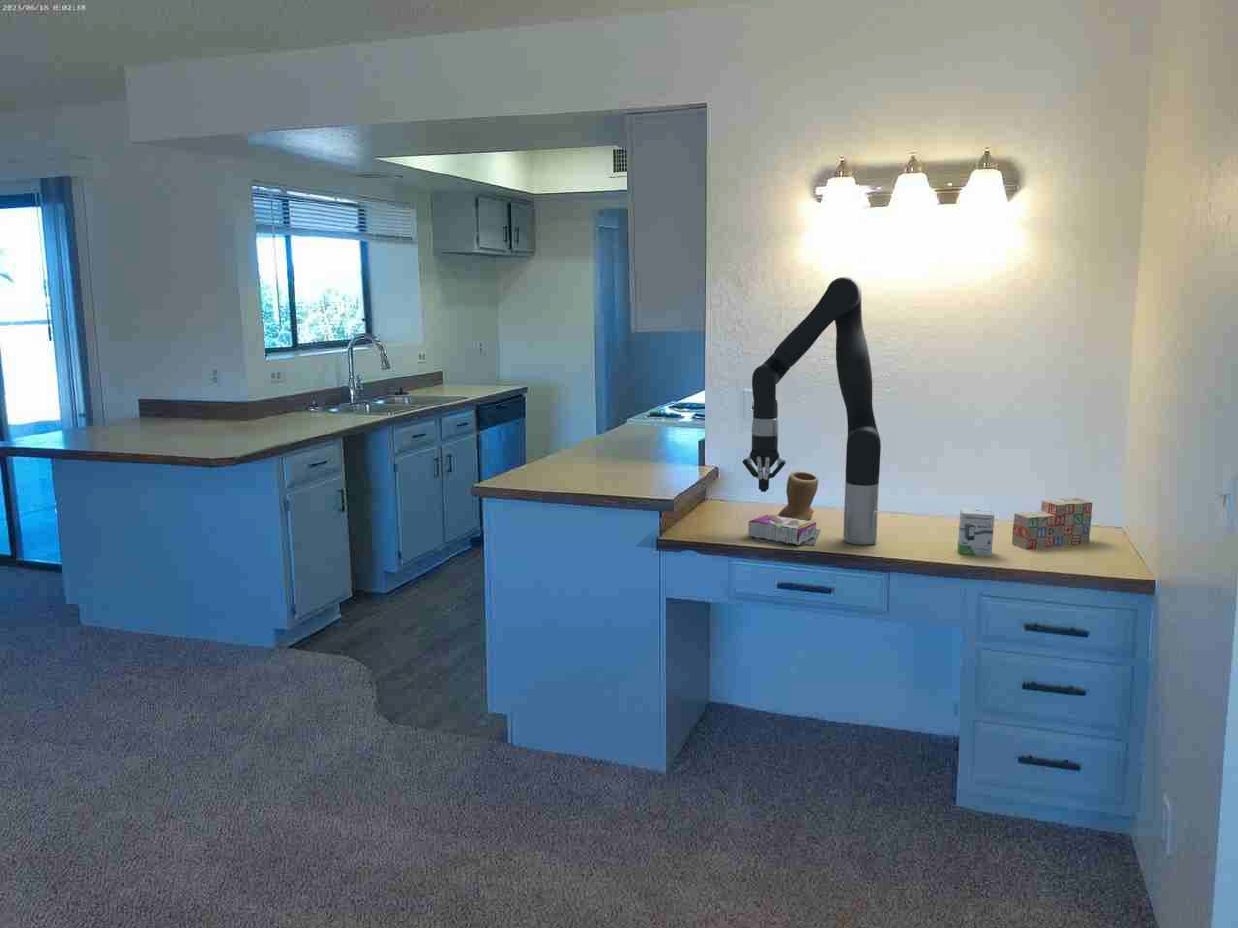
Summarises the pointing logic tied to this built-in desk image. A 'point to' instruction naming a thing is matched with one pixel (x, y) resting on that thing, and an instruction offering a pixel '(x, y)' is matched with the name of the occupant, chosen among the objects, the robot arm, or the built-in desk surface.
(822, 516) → the built-in desk surface
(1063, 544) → the stack of blocks
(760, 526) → the candy bar box
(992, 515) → the ink box
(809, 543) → the mat
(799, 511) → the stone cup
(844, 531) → the robot arm
